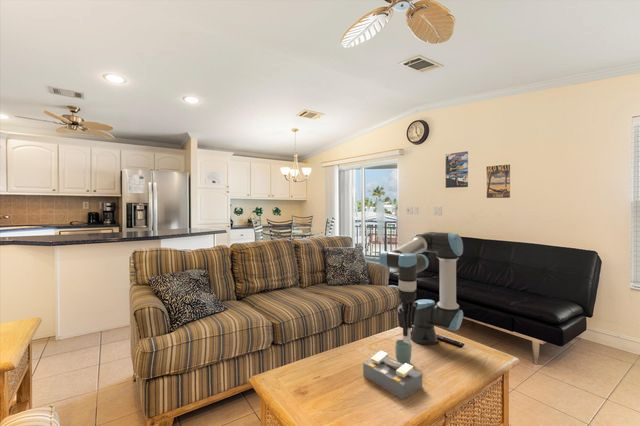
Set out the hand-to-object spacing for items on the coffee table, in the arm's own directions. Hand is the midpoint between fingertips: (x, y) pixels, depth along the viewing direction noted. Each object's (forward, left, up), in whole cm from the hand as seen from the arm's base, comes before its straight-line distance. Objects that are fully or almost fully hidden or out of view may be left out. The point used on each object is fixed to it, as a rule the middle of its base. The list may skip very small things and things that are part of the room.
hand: (406, 342), depth 134 cm
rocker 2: (+2, -6, -13) cm, 14 cm away
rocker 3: (+2, +1, -13) cm, 13 cm away
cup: (-16, -13, -20) cm, 29 cm away
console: (+2, -6, -20) cm, 21 cm away
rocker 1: (+2, -13, -13) cm, 18 cm away
